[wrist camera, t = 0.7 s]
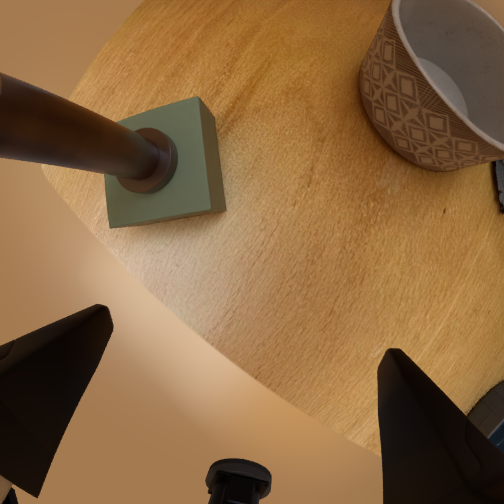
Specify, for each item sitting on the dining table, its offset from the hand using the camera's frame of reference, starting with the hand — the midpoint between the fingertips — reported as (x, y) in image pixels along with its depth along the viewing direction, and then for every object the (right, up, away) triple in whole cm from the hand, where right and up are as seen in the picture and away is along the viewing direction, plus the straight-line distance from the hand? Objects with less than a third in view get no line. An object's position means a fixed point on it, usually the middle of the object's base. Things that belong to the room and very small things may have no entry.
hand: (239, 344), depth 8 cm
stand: (-6, +9, +14) cm, 18 cm away
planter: (+15, +16, +11) cm, 24 cm away
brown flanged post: (-7, +9, +9) cm, 15 cm away
